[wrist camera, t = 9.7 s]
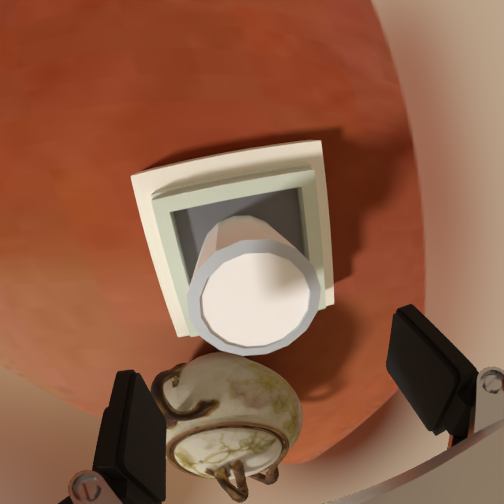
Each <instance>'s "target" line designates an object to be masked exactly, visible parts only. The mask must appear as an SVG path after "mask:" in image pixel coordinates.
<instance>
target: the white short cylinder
mask: <svg viewBox="0 0 504 504" xmlns="http://www.w3.org/2000/svg"><path fill="white" fill-rule="evenodd" d="M320 292H321V286H320V283H319V280H318V277H317V274H316V271H315V268H314V266H313V265H312V264H311V263H310V262H309V261H308V260H307V259H306V258H305V257H304V256H303V255H302V254H301V253H300V252H299V251H298V249H296V248H295V247H294V246H293V245H292V244H291V243H290V242H288V241H287V240H286V239H285V238H284V237H283V236H281V235H280V234H279V233H278V232H277V231H276V230H274V229H273V228H272V227H271V226H270V225H269V224H267V223H266V222H265V221H263V220H260V219H258V218H255V217H253V216H250V215H245V216H232V217H230V218H227V219H225V220H223V221H220V222H218V223H217V224H216V225H215V226H214V227H213V228H212V229H211V230H210V231H209V232H208V233H207V236H206V238H205V241H204V243H203V246H202V249H201V252H200V255H199V258H198V261H197V264H196V267H195V270H194V274H193V277H192V280H191V283H190V286H189V290H188V293H187V301H188V311H189V319H190V320H191V322H192V323H193V325H194V327H195V328H196V330H197V332H198V333H199V335H200V336H201V338H203V339H204V340H206V341H207V342H209V343H210V344H211V345H213V346H214V347H216V348H217V349H219V350H221V351H225V352H229V353H233V354H237V355H241V356H248V355H262V354H268V353H270V352H273V351H275V350H278V349H280V348H283V347H285V346H288V345H289V344H291V343H292V342H293V341H294V340H295V339H297V338H298V337H299V336H300V335H301V334H302V333H304V332H305V331H306V330H307V328H308V327H309V325H310V323H311V322H312V320H313V318H314V316H315V315H316V313H317V311H318V307H319V300H320Z"/></svg>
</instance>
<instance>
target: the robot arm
mask: <svg viewBox="0 0 504 504" xmlns="http://www.w3.org/2000/svg"><path fill="white" fill-rule="evenodd" d="M386 368H387V371H388V373H389V374H390V375H391V377H392V378H393V380H394V381H395V383H396V384H397V386H398V387H399V388H400V390H401V391H402V393H403V394H404V396H405V397H406V399H407V400H408V402H409V403H410V404H411V406H412V407H413V409H414V410H415V412H416V413H417V415H418V416H419V418H420V419H421V421H422V422H423V424H424V425H425V427H426V428H427V429H428V430H429V431H433V433H434V434H435V435H436V436H437V435H438V434H440V433H442V432H444V431H445V430H447V431H448V433H449V434H450V436H449V442H448V447H447V450H446V451H444V452H442V453H441V454H439V455H437V456H435V457H434V458H432V459H430V460H428V461H426V462H424V463H422V464H420V465H418V466H416V467H414V468H412V469H410V470H408V471H406V472H404V473H402V474H400V475H398V476H396V477H393V478H391V479H389V480H387V481H384V482H382V483H380V484H377V485H375V486H372V487H370V488H367V489H365V490H362V491H359V492H357V493H354V494H351V495H348V496H346V497H343V498H340V499H337V500H334V501H330V502H327V503H324V504H504V370H502V369H500V368H497V367H487V368H484V369H483V370H482V371H480V373H479V372H478V371H477V370H476V368H475V367H474V366H473V364H472V363H471V362H470V361H469V360H468V359H467V358H466V357H465V356H464V355H463V354H462V353H461V352H460V351H459V350H458V349H457V348H456V347H455V346H454V345H453V344H452V343H451V342H450V341H449V340H448V339H447V338H446V337H445V336H444V335H443V334H442V333H441V332H440V331H439V330H438V329H437V328H436V327H435V326H434V325H433V324H432V323H431V322H430V321H429V320H428V319H427V318H426V317H425V316H424V315H423V314H422V313H421V312H420V311H419V310H418V309H417V308H416V307H415V306H413V305H412V304H409V305H406V306H404V307H401V308H398V309H397V310H396V313H395V314H394V315H393V320H392V328H391V335H390V342H389V349H388V355H387V361H386ZM166 433H167V423H166V419H165V417H164V415H163V413H162V412H161V410H160V408H159V407H158V405H157V403H156V401H155V400H154V398H153V396H152V394H151V393H150V391H149V389H148V387H147V386H146V384H145V382H144V380H143V378H142V376H141V375H140V374H139V373H135V371H134V370H125V371H118V372H117V374H116V378H115V382H114V386H113V390H112V394H111V398H110V402H109V407H107V408H106V409H105V410H104V413H103V417H102V422H101V427H100V431H99V436H98V441H97V446H96V451H95V456H94V462H93V468H92V471H91V470H84V471H80V472H78V473H77V474H75V475H74V476H73V477H72V479H71V480H70V482H69V485H68V493H69V496H68V497H67V498H65V499H64V500H63V501H61V502H60V503H58V504H162V502H163V501H165V499H166Z"/></svg>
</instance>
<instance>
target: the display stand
mask: <svg viewBox="0 0 504 504" xmlns="http://www.w3.org/2000/svg"><path fill="white" fill-rule="evenodd" d="M131 180H132V184H133V189H134V193H135V197H136V201H137V205H138V209H139V213H140V217H141V221H142V225H143V228H144V232H145V236H146V239H147V243H148V246H149V250H150V253H151V257H152V260H153V263H154V267H155V270H156V273H157V276H158V280H159V283H160V286H161V289H162V292H163V295H164V298H165V301H166V304H167V307H168V310H169V313H170V316H171V319H172V322H173V324H174V327H175V330H176V333H177V336H178V337H182V336H188V335H190V337H194V336H200V335H199V333H198V332H197V330H196V328H195V327H194V325H193V323H192V322H191V320H190V319H189V311H188V301H187V293H188V290H189V286H190V283H191V280H192V277H193V274H194V270H195V267H196V264H197V261H198V258H199V255H200V252H201V249H202V246H203V243H204V241H205V238H206V236H207V233H208V232H209V231H210V230H211V229H212V228H213V227H214V226H215V225H216V224H217V223H218V222H220V221H223V220H225V219H227V218H230V217H232V216H245V215H250V216H253V217H255V218H258V219H260V220H263V221H265V222H266V223H267V224H269V225H270V226H271V227H272V228H273V229H274V230H276V231H277V232H278V233H279V234H280V235H281V236H283V237H284V238H285V239H286V240H287V241H288V242H290V243H291V244H292V245H293V246H294V247H295V248H296V249H298V251H299V252H300V253H301V254H302V255H303V256H304V257H305V258H306V259H307V260H308V261H309V262H310V263H311V264H312V265H313V266H314V268H315V271H316V274H317V277H318V280H319V283H320V286H321V292H320V300H319V307H318V310H321V309H325V308H326V306H329V305H333V304H334V283H333V263H332V246H331V232H330V219H329V208H328V197H327V187H326V178H325V169H324V160H323V152H322V145H321V140H303V141H295V142H287V143H280V144H273V145H266V146H260V147H254V148H248V149H242V150H236V151H230V152H225V153H220V154H214V155H209V156H204V157H200V158H195V159H190V160H185V161H181V162H177V163H172V164H168V165H164V166H159V167H155V168H151V169H147V170H143V171H140V172H138V173H136V174H134V175H132V176H131Z"/></svg>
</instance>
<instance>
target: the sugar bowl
mask: <svg viewBox="0 0 504 504" xmlns="http://www.w3.org/2000/svg"><path fill="white" fill-rule="evenodd" d="M151 394H152V396H153V398H154V400H155V401H156V403H157V405H158V407H159V408H160V410H161V412H162V413H163V415H164V417H165V419H166V423H167V433H166V458H167V459H168V460H169V462H170V463H171V464H172V465H173V466H175V467H176V468H178V469H179V470H181V471H183V472H185V473H188V474H190V475H193V476H197V477H202V478H210V479H217V481H218V482H219V484H220V485H221V486H222V488H223V489H224V490H225V491H226V492H227V493H228V494H229V495H230V497H231V498H232V499H233V500H234V501H236V502H244V501H245V500H246V499H247V497H248V488H247V484H246V477H251V478H253V479H256V480H258V481H260V482H263V483H265V484H267V485H269V484H273V483H275V482H276V481H277V479H278V476H279V472H278V468H277V466H278V464H279V463H280V462H281V461H282V460H283V458H284V457H285V455H286V454H287V452H288V451H289V450H290V448H291V447H292V446H293V445H294V443H295V442H296V440H297V439H298V436H299V434H300V432H301V428H302V422H303V412H302V406H301V403H300V400H299V398H298V396H297V394H296V392H295V391H294V389H293V388H292V387H291V386H290V384H289V383H288V382H287V381H286V380H285V379H284V378H283V377H281V376H280V375H279V374H278V373H276V372H275V371H273V370H272V369H270V368H268V367H266V366H264V365H262V364H260V363H257V362H254V361H252V360H249V359H247V358H245V357H243V356H241V355H237V354H233V353H229V352H214V353H208V354H205V355H202V356H199V357H197V358H196V359H194V360H192V361H190V362H188V363H181V364H178V365H176V366H175V367H174V368H172V369H170V370H166V371H163V372H161V373H159V374H158V375H157V376H156V377H155V379H154V381H153V383H152V386H151ZM265 470H267V472H266V475H263V474H261V473H260V472H262V471H265ZM229 479H236V483H237V487H238V489H237V488H236V487H235V486H233V485H232V484H231V483H230V481H229Z"/></svg>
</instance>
